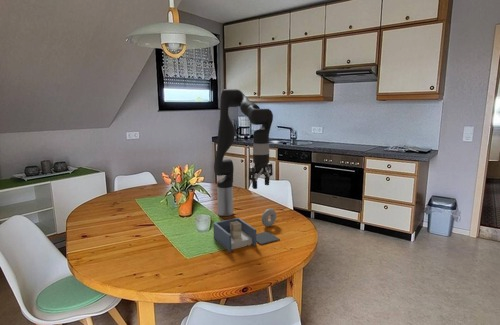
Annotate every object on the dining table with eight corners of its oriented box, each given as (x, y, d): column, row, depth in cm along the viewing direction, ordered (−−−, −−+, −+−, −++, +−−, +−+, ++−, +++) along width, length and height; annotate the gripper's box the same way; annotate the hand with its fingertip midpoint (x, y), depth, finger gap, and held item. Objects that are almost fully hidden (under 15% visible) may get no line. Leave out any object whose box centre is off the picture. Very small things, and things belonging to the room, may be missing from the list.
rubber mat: (249, 236, 158) (249, 235, 158) (267, 232, 164) (267, 231, 163) (260, 245, 149) (260, 243, 149) (279, 240, 154) (279, 239, 154)
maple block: (230, 236, 152) (229, 222, 150) (237, 234, 153) (237, 220, 152) (233, 239, 148) (233, 225, 147) (241, 237, 150) (241, 223, 149)
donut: (264, 229, 167) (264, 211, 165) (260, 227, 169) (260, 210, 168) (277, 224, 174) (277, 207, 172) (273, 223, 176) (273, 206, 174)
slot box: (213, 237, 157) (213, 222, 156) (238, 232, 164) (238, 217, 162) (229, 252, 142) (229, 235, 140) (256, 245, 148) (256, 229, 147)
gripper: (264, 150, 153) (264, 182, 156) (244, 153, 143) (244, 188, 146) (277, 151, 148) (276, 185, 151) (256, 155, 138) (256, 191, 141)
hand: (260, 186), depth 148 cm, fingers open, 8 cm apart
